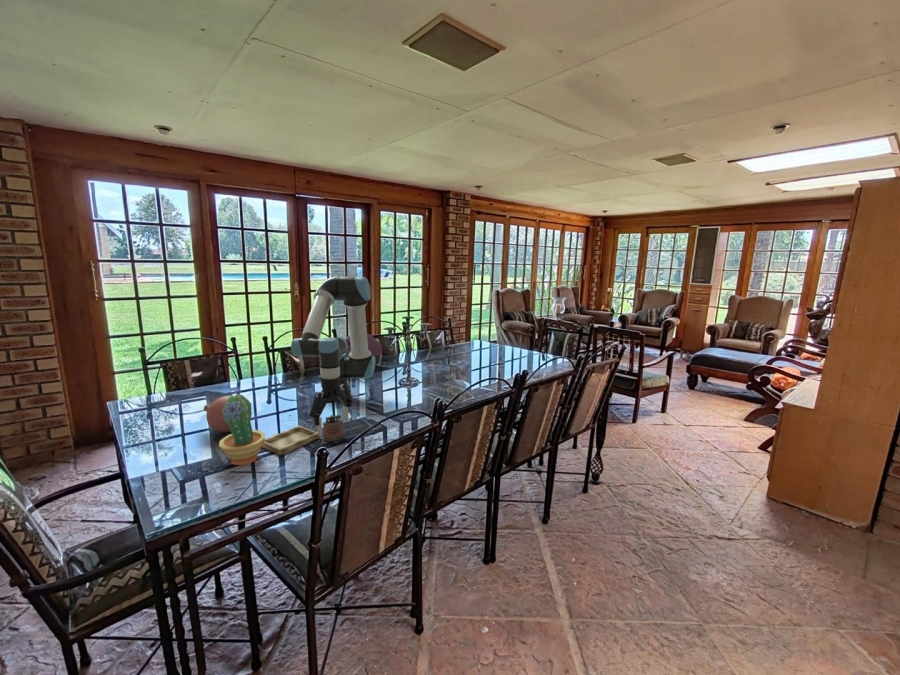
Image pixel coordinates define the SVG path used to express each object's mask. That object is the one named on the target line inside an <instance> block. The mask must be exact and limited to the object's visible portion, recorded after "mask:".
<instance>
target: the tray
mask: <svg viewBox="0 0 900 675" xmlns="http://www.w3.org/2000/svg"><path fill="white" fill-rule="evenodd" d="M317 439H320V433H318V432H316V430H312V429H311V428H307V427H304V426H303V425H297V426H294V427H293V428H289V429H287V430H284V431H281V432H280V433H277V434H275V435H273V436H269V437H268V438H267V437H266V438H265V440H264V442H263V443H262V446H261V448H264V449H266V450H268V451H270V452H272V453H274V454H277V455H279V456H282V455H285V454H287V453H289V452H292V451H293V450H295V449H297V448H300V447H302V446H305V445H307V444H309V443H311V442H313V441H316V440H317Z"/></svg>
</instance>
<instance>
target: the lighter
mask: <svg viewBox="0 0 900 675" xmlns="http://www.w3.org/2000/svg"><path fill="white" fill-rule="evenodd" d="M322 427H323V441H324V442H331V441H333V442H334V441H337V440H341V439H344V438H345V434H344V421H343V418H342V415H341V414H337V415H332V414H331V415H330V416H325V421H323V422H322Z"/></svg>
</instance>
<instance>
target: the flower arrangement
mask: <svg viewBox="0 0 900 675" xmlns="http://www.w3.org/2000/svg"><path fill="white" fill-rule="evenodd" d="M344 339H345V340H346V341H347V344H348V348H347V350H346V352H345V353H346V356H349V353H350V352H351V342H350V335H349V336H347V337H345V338H344ZM367 341H368V350H369V351H370V352H371V354H372V356H374V357H379V356H381V355H382V354H383V347H382V344H381V343H380V342H379V341H378V340H377V339H376V338H375V337H374V336H373V335H372V334H370V333H368V332H367Z"/></svg>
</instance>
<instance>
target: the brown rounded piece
mask: <svg viewBox="0 0 900 675" xmlns="http://www.w3.org/2000/svg"><path fill="white" fill-rule="evenodd" d="M230 396H231V395H224V396H220V397H218V398H217V399H214V401H212V402H211V403H210V404H204V407H203V411H204V412H206V422H207V424H208V426H209V427H210V428H211V429H213V430H214V431H215V432H219V433H231V430H230V428H229V426H228V425H227V423H226V422H225V420H224V416H223V413H222V412H223V411H222V409H223V407H224V405H225V404H226V402H227V400H228V398H229V397H230Z"/></svg>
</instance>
